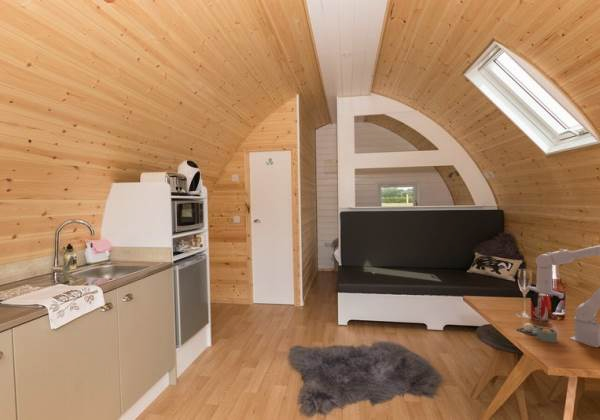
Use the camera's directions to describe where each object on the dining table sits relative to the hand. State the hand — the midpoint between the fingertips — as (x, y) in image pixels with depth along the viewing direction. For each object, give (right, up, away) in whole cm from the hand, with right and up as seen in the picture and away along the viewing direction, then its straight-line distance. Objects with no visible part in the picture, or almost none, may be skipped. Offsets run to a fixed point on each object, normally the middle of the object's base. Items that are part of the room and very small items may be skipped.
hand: (544, 309), depth 150 cm
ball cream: (-8, -10, -1) cm, 13 cm away
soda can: (+9, -10, +15) cm, 20 cm away
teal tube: (-6, -10, -9) cm, 15 cm away
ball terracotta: (-6, -10, -9) cm, 14 cm away
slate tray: (-5, -10, 0) cm, 11 cm away
